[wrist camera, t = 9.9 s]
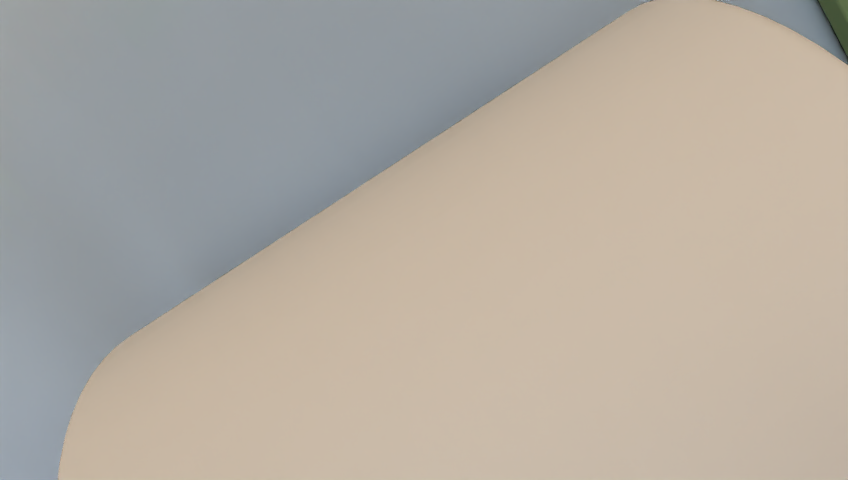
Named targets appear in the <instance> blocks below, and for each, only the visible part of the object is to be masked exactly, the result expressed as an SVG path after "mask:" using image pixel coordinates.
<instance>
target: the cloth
mask: <svg viewBox="0 0 848 480" xmlns="http://www.w3.org/2000/svg"><path fill="white" fill-rule="evenodd" d="M818 1H819V3H820V5H821V7H822V9H823V11H824V12H825V14H826V16H827V18H828V20H829V22H830V24H831V26H832V28H833V30H834V32H835V33H836V35H837V37H838V39H839V41H840V43H841V45H842V47H843V49H844V51H845V52H846V54H847V56H848V0H818Z"/></svg>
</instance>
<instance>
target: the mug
mask: <svg viewBox="0 0 848 480" xmlns="http://www.w3.org/2000/svg"><path fill="white" fill-rule="evenodd" d="M58 480H848V65H847V64H846V63H844V62H843V61H841V60H840V59H838V58H837V57H835V56H834V55H832V54H831V53H829V52H828V51H826V50H825V49H823V48H822V47H820V46H819V45H817V44H816V43H814V42H812V41H810V40H809V39H807V38H805V37H804V36H802V35H800V34H798V33H797V32H795V31H793V30H791V29H790V28H787V27H785V26H783V25H781V24H779V23H777V22H775V21H773V20H771V19H769V18H767V17H765V16H762V15H759V14H757V13H754V12H751V11H749V10H746V9H743V8H741V7H738V6H734V5H730V4H727V3H723V2H719V1H715V0H653V1H650V2H647V3H644V4H641V5H639V6H637V7H635V8H634V9H632V10H630V11H628V12H626V13H625V14H623V15H622V16H620V17H619V18H617V19H616V20H614V21H613V22H611V23H610V24H608V25H606V26H605V27H603V28H602V29H600V30H599V31H597V32H596V33H594V34H593V35H591V36H590V37H588V38H587V39H585V40H583V41H582V42H580V43H579V44H577V45H576V46H574V47H573V48H571V49H570V50H568V51H567V52H565V53H564V54H562V55H560V56H559V57H557V58H556V59H554V60H553V61H551V62H550V63H548V64H547V65H545V66H544V67H542V68H541V69H539V70H537V71H536V72H534V73H533V74H531V75H530V76H528V77H527V78H525V79H524V80H522V81H521V82H519V83H518V84H516V85H514V86H513V87H511V88H510V89H508V90H507V91H505V92H504V93H502V94H501V95H499V96H498V97H496V98H495V99H493V100H491V101H490V102H488V103H487V104H485V105H484V106H482V107H481V108H479V109H478V110H476V111H475V112H473V113H471V114H470V115H468V116H467V117H465V118H464V119H462V120H461V121H459V122H458V123H456V124H455V125H453V126H452V127H450V128H448V129H447V130H445V131H444V132H442V133H441V134H439V135H438V136H436V137H435V138H433V139H432V140H430V141H429V142H427V143H425V144H424V145H422V146H421V147H419V148H418V149H416V150H415V151H413V152H412V153H410V154H409V155H407V156H406V157H404V158H402V159H401V160H399V161H398V162H396V163H395V164H393V165H392V166H390V167H389V168H387V169H386V170H384V171H383V172H381V173H379V174H378V175H376V176H375V177H373V178H372V179H370V180H369V181H367V182H366V183H364V184H363V185H361V186H360V187H358V188H356V189H355V190H353V191H352V192H350V193H349V194H347V195H346V196H344V197H343V198H341V199H340V200H338V201H337V202H335V203H333V204H332V205H330V206H329V207H327V208H326V209H324V210H323V211H321V212H320V213H318V214H317V215H315V216H314V217H312V218H310V219H309V220H307V221H306V222H304V223H303V224H301V225H300V226H298V227H297V228H295V229H294V230H292V231H291V232H289V233H287V234H286V235H284V236H283V237H281V238H280V239H278V240H277V241H275V242H274V243H272V244H271V245H269V246H268V247H266V248H264V249H263V250H261V251H260V252H258V253H257V254H255V255H254V256H252V257H251V258H249V259H248V260H246V261H245V262H243V263H241V264H240V265H238V266H237V267H235V268H234V269H232V270H231V271H229V272H228V273H226V274H225V275H223V276H222V277H220V278H218V279H217V280H215V281H214V282H212V283H211V284H209V285H208V286H206V287H205V288H203V289H202V290H200V291H199V292H197V293H195V294H194V295H192V296H191V297H189V298H188V299H186V300H185V301H183V302H182V303H180V304H179V305H177V306H175V307H174V308H172V309H171V310H169V311H168V312H166V313H165V314H163V315H162V316H160V317H159V318H157V319H156V320H154V321H152V322H151V323H149V324H148V325H146V326H145V327H143V328H142V329H140V330H139V331H137V332H136V333H134V334H133V335H131V336H130V337H128V338H127V339H126V340H124V341H123V342H122V343H120V344H119V345H118V346H116V347H115V348H114V349H113V350H112V351H111V352H110V353H109V354H108V355H107V356H106V357H105V358H104V359H103V361H102V362H101V363H100V365H99V366H98V367H97V368H96V370H95V371H94V372H93V374H92V375H91V377H90V379H89V380H88V382H87V384H86V385H85V387H84V389H83V391H82V393H81V395H80V397H79V399H78V401H77V404H76V406H75V408H74V411H73V413H72V416H71V419H70V422H69V426H68V429H67V432H66V435H65V440H64V444H63V449H62V454H61V458H60V464H59V472H58Z"/></svg>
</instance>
